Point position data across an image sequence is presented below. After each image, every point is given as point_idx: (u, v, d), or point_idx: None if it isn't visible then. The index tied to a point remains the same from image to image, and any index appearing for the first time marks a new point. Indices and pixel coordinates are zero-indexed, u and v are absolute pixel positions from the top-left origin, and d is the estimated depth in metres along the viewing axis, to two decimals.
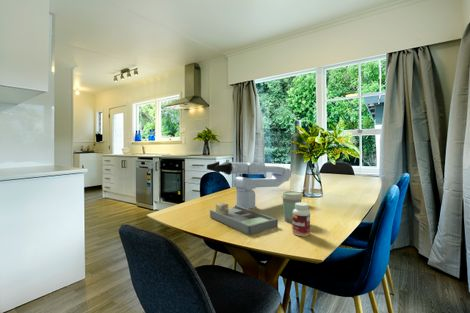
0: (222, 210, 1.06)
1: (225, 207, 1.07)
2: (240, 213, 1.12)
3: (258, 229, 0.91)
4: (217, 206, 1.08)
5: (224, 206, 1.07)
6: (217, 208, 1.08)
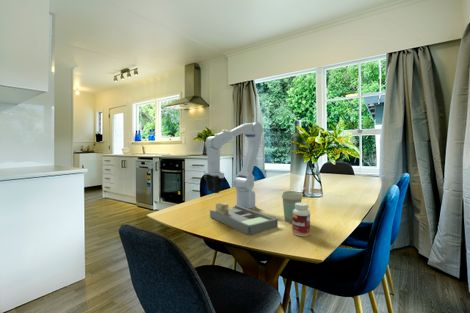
0: (222, 210, 1.06)
1: (225, 207, 1.07)
2: (240, 213, 1.12)
3: (258, 229, 0.91)
4: (217, 206, 1.08)
5: (224, 206, 1.07)
6: (217, 208, 1.08)
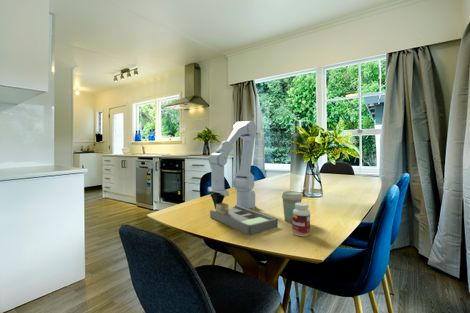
0: (222, 210, 1.06)
1: (225, 207, 1.07)
2: (240, 213, 1.12)
3: (258, 229, 0.91)
4: (217, 206, 1.08)
5: (224, 206, 1.07)
6: (217, 208, 1.08)
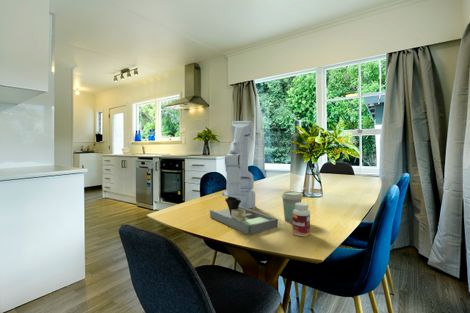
0: (239, 217, 0.97)
1: (242, 213, 0.98)
2: None
3: (258, 229, 0.91)
4: (233, 212, 0.98)
5: (241, 212, 0.97)
6: (233, 214, 0.98)
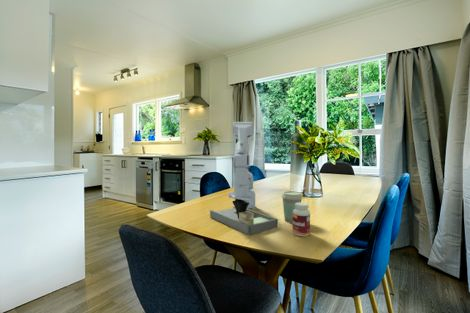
0: (247, 220, 0.93)
1: (250, 216, 0.94)
2: None
3: (258, 229, 0.91)
4: (241, 215, 0.94)
5: (249, 215, 0.93)
6: (241, 217, 0.94)
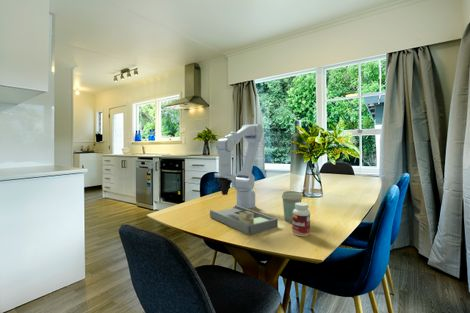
0: (247, 220, 0.93)
1: (250, 216, 0.94)
2: None
3: (258, 229, 0.91)
4: (241, 215, 0.94)
5: (249, 215, 0.93)
6: (241, 217, 0.94)
